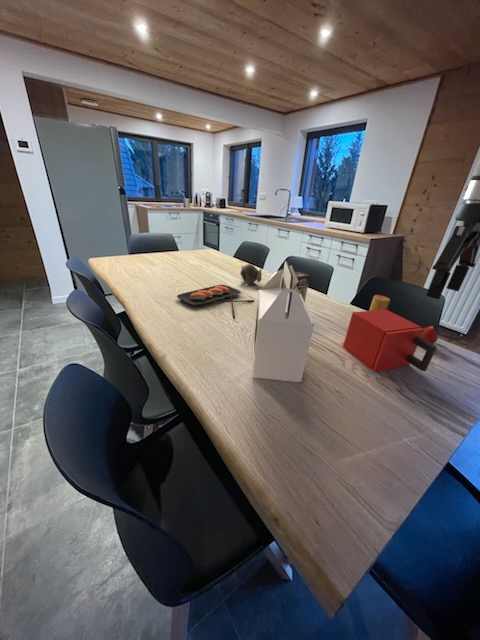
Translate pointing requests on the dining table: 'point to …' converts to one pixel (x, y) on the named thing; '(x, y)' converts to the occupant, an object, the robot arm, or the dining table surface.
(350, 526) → the dining table surface
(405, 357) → the red drawer
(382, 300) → the yellow orange cylinder
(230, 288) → the sushi plate
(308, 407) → the dining table surface
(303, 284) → the coffee box
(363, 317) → the valve cabinet
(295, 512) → the dining table surface
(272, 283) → the gable box
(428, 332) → the onion
